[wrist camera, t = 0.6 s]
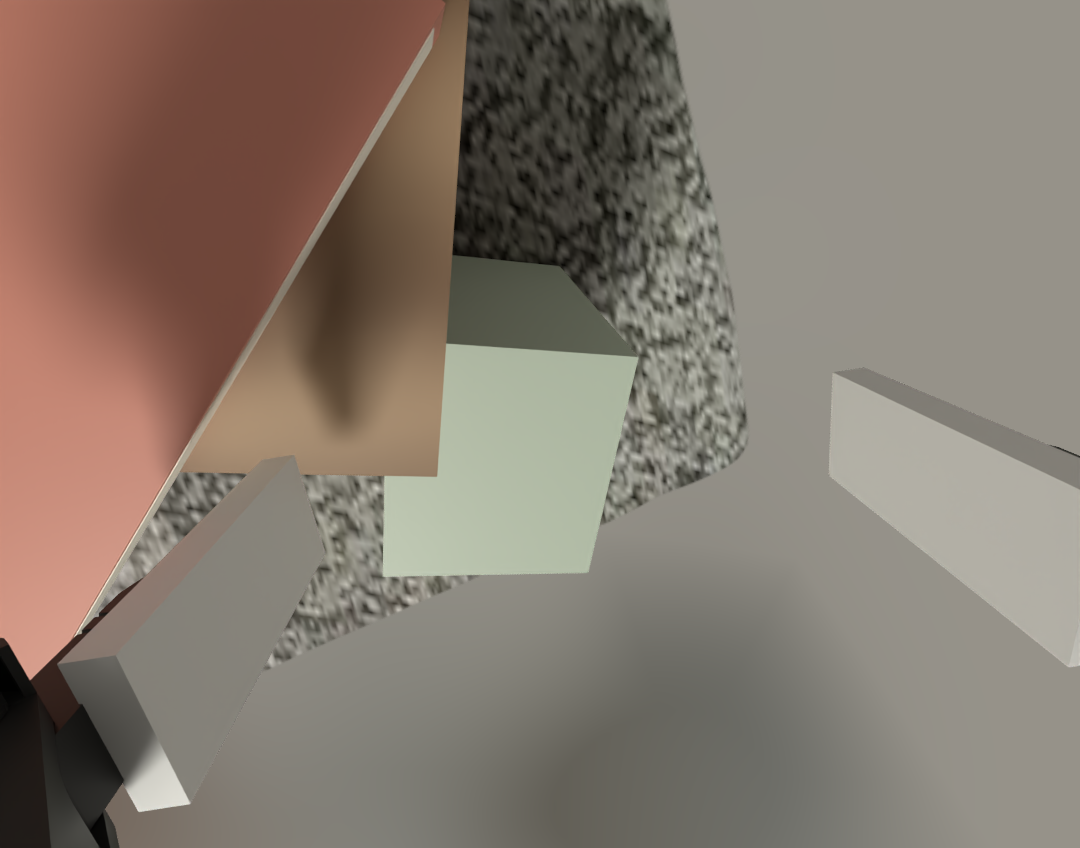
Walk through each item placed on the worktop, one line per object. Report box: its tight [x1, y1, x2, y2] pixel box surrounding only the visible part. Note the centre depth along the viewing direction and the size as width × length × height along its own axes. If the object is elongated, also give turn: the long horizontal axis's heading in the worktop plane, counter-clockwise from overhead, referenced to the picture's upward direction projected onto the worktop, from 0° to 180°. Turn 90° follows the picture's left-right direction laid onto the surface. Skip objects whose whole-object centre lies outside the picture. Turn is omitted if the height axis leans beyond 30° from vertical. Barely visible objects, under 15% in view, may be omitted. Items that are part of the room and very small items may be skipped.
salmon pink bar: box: [0, 0, 446, 680], centre depth 12 cm, size 22×4×4 cm, turn 142°
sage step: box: [383, 255, 638, 577], centre depth 38 cm, size 14×12×19 cm
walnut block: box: [180, 0, 469, 477], centre depth 25 cm, size 12×14×30 cm
